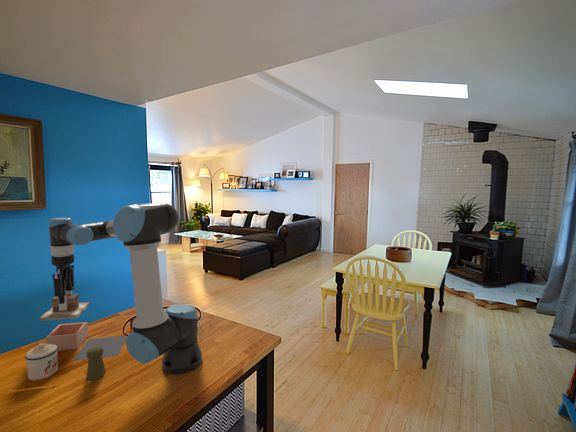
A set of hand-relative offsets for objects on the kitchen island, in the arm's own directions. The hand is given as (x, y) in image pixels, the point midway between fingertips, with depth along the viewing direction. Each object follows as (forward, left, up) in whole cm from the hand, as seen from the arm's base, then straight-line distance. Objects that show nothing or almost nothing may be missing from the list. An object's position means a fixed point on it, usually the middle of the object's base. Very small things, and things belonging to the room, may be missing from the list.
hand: (66, 307), depth 124 cm
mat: (-6, -15, -17) cm, 23 cm away
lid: (0, 0, -2) cm, 2 cm away
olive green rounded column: (-25, -19, -17) cm, 36 cm away
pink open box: (0, 0, -17) cm, 17 cm away
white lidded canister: (-18, 0, -17) cm, 25 cm away
